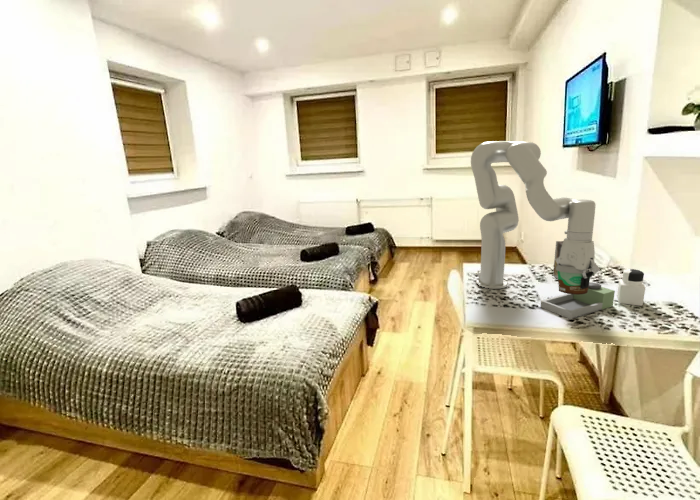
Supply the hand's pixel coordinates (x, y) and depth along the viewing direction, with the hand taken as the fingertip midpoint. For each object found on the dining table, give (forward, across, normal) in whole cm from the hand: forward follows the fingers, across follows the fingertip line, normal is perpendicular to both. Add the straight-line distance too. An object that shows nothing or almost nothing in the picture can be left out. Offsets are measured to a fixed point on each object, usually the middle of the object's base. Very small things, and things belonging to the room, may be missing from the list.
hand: (574, 284), depth 133 cm
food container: (+3, +1, 0) cm, 3 cm away
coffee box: (+9, -23, +26) cm, 36 cm away
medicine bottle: (+9, +6, +23) cm, 25 cm away
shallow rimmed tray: (+9, 0, +2) cm, 9 cm away
